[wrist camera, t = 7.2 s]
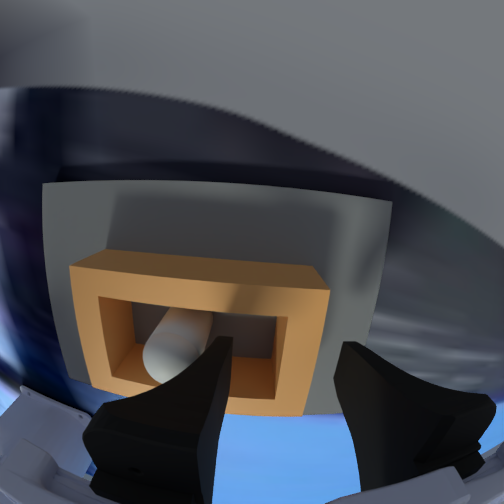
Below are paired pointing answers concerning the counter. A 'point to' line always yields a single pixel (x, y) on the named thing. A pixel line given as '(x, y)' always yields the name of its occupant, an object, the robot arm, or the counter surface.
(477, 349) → the counter surface
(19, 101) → the counter surface
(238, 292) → the orange rectangular frame
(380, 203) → the keeper plate
